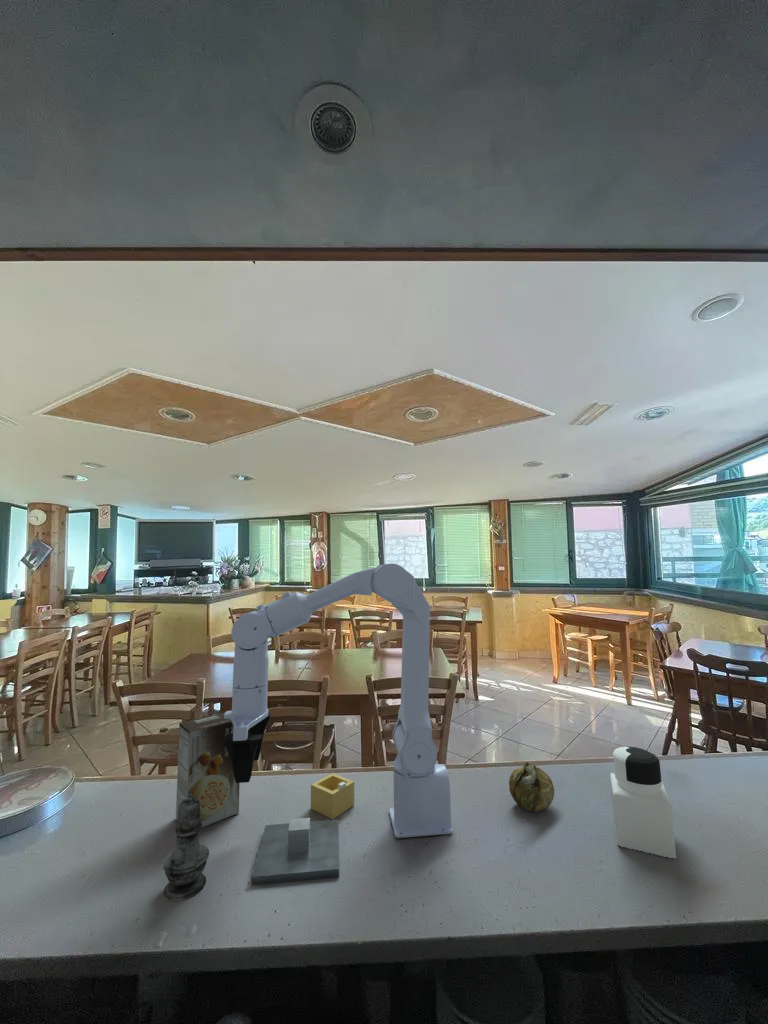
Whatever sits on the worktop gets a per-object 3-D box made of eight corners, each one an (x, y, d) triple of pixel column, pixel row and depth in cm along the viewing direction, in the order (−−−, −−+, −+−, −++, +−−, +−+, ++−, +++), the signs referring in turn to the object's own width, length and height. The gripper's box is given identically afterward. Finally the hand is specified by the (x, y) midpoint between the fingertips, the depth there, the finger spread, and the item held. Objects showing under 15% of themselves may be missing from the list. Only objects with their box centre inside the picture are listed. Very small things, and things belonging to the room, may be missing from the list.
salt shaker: (190, 906, 54) (195, 805, 56) (151, 899, 56) (156, 801, 57) (217, 874, 60) (220, 783, 62) (180, 868, 61) (185, 779, 63)
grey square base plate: (338, 825, 71) (338, 800, 72) (339, 876, 59) (339, 845, 60) (265, 831, 70) (266, 805, 70) (251, 885, 58) (252, 853, 58)
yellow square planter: (332, 795, 81) (332, 769, 81) (354, 805, 77) (354, 778, 78) (310, 808, 76) (310, 781, 77) (332, 819, 73) (332, 790, 74)
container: (667, 831, 69) (659, 746, 70) (677, 861, 62) (667, 766, 64) (613, 820, 72) (607, 739, 74) (617, 847, 65) (609, 757, 67)
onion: (565, 815, 73) (562, 766, 75) (525, 822, 72) (522, 772, 73) (539, 793, 81) (537, 749, 82) (502, 799, 79) (500, 753, 80)
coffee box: (226, 799, 80) (229, 710, 82) (239, 813, 75) (242, 718, 77) (173, 818, 74) (178, 721, 76) (185, 835, 69) (190, 731, 71)
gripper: (236, 674, 78) (233, 752, 76) (213, 698, 64) (209, 794, 62) (274, 673, 79) (273, 750, 77) (261, 696, 65) (258, 791, 63)
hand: (247, 770), depth 70 cm, fingers open, 7 cm apart
